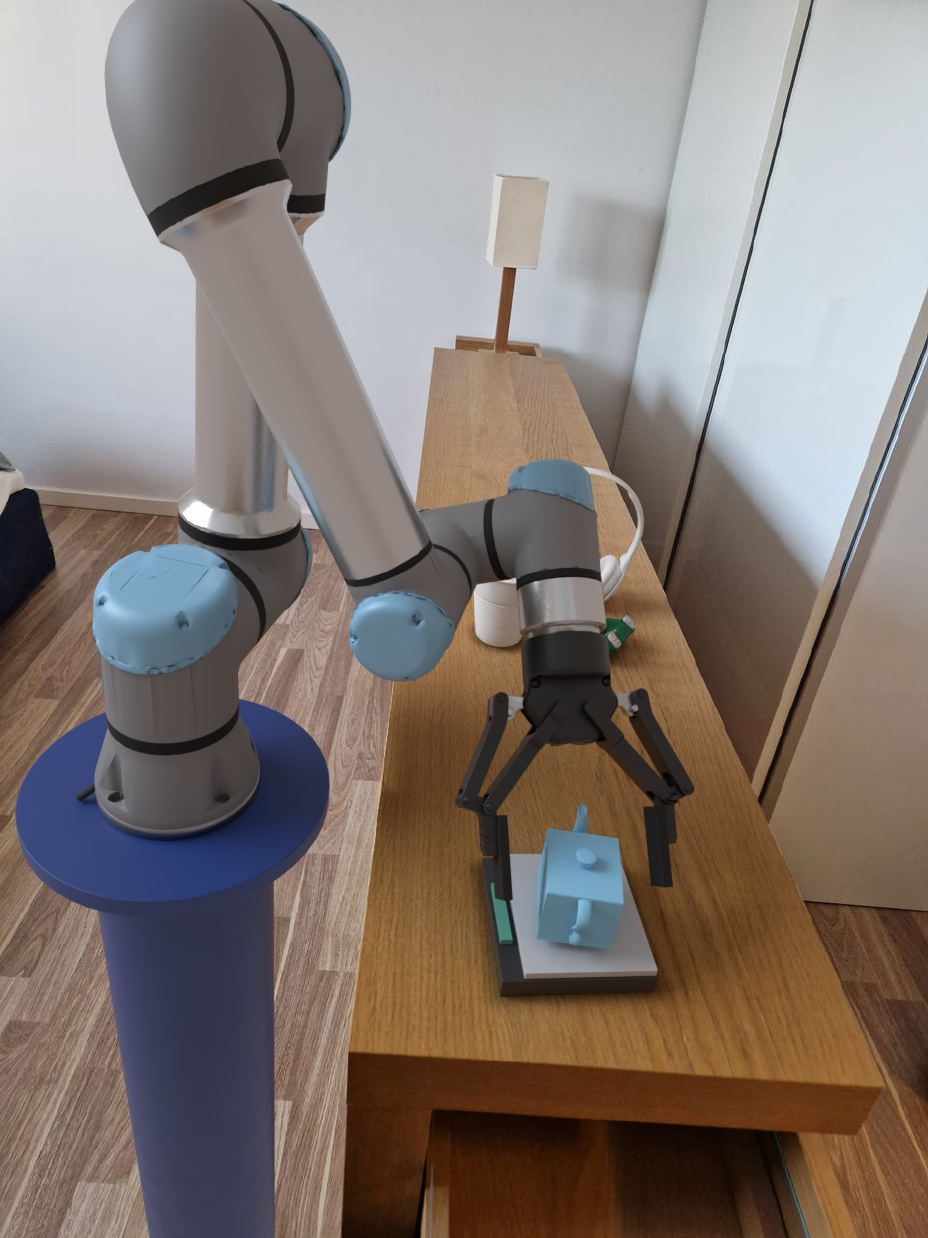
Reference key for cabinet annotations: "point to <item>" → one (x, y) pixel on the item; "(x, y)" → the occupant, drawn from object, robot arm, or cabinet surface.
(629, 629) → the green christmas socks
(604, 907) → the teapot
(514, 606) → the cup
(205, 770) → the robot arm
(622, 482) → the headphones
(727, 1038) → the cabinet surface
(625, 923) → the scale
